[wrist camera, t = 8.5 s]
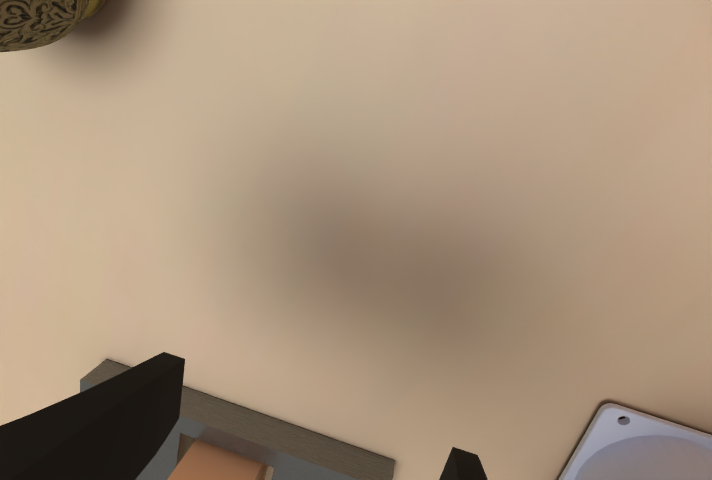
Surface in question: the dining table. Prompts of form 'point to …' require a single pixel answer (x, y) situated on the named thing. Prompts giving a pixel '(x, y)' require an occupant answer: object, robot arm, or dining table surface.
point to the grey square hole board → (252, 440)
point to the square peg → (216, 465)
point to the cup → (40, 21)
